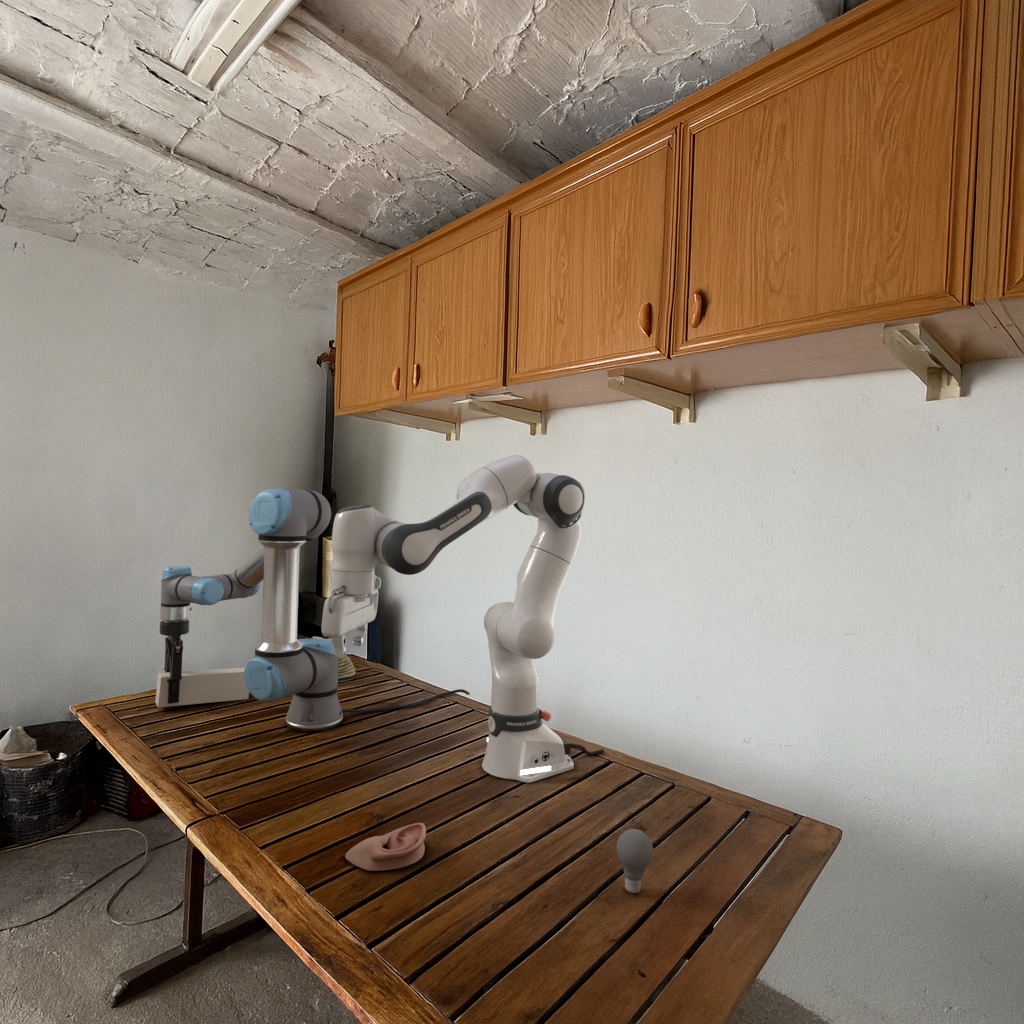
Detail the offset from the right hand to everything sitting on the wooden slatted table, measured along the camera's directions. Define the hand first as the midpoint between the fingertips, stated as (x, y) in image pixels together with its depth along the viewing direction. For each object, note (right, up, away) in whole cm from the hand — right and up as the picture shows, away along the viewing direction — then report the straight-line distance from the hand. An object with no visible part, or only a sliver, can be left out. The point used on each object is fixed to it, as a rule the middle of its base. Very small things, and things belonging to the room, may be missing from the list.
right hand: (349, 650), depth 130 cm
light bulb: (+54, -35, -25) cm, 69 cm away
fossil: (-30, -29, +86) cm, 95 cm away
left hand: (-65, -26, +53) cm, 88 cm away
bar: (-58, -28, +58) cm, 87 cm away
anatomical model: (+11, -33, -17) cm, 39 cm away
